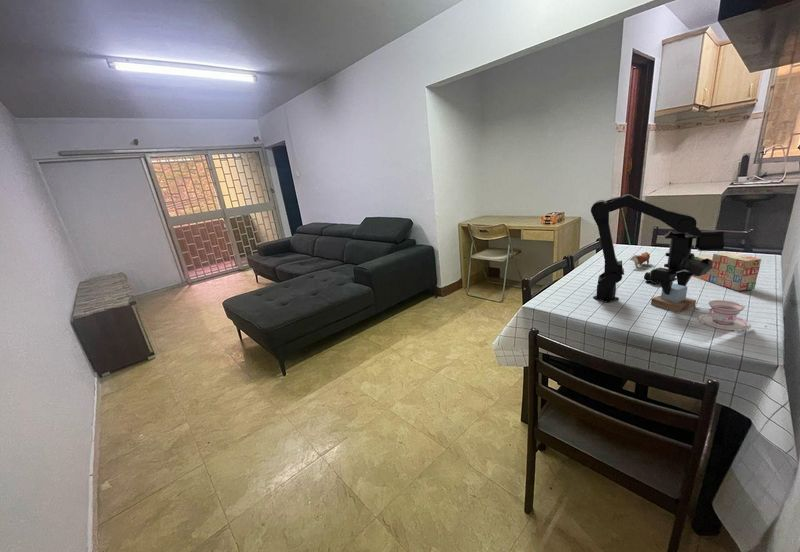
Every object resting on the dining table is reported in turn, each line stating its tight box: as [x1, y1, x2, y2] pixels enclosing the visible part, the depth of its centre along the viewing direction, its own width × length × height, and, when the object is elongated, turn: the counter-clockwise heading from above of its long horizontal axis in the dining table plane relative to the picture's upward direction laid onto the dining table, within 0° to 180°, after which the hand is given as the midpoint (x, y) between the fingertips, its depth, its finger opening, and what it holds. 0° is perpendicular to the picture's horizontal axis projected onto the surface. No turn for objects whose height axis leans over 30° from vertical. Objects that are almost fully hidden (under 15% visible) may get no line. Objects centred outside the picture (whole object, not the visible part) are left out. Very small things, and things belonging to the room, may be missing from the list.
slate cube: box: [660, 283, 688, 303], centre depth 114 cm, size 5×5×5 cm
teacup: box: [697, 299, 752, 332], centre depth 100 cm, size 12×12×6 cm
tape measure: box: [643, 271, 660, 284], centre depth 137 cm, size 7×7×4 cm
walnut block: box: [650, 295, 697, 313], centre depth 115 cm, size 9×9×3 cm
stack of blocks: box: [692, 251, 762, 292], centre depth 129 cm, size 21×6×12 cm, turn 2°
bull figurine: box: [629, 251, 651, 269], centre depth 156 cm, size 4×13×8 cm, turn 115°
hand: (674, 292), depth 114 cm, fingers open, 7 cm apart
